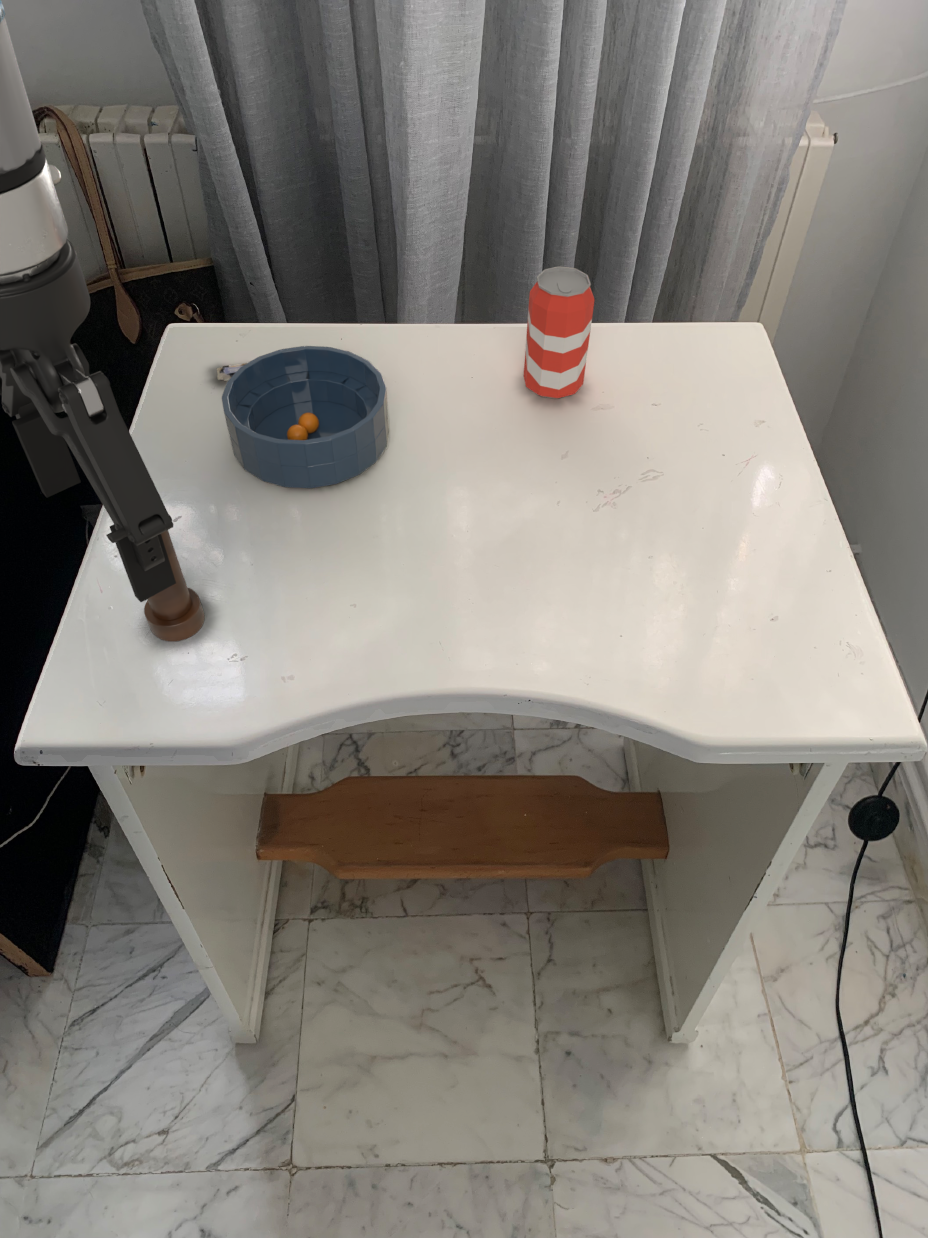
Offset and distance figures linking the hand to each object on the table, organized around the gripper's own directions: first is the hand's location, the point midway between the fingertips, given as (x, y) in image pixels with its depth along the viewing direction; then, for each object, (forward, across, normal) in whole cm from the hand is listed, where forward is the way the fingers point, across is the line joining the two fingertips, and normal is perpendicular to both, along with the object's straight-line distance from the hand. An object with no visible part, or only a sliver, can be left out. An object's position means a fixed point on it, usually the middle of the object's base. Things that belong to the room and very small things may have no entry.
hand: (106, 536), depth 64 cm
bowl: (+11, +11, -25) cm, 29 cm away
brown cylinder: (+11, 0, -3) cm, 12 cm away
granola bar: (+12, +25, -27) cm, 38 cm away
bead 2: (+9, +12, -25) cm, 29 cm away
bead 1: (+9, +11, -23) cm, 27 cm away
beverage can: (+10, +2, -50) cm, 51 cm away
